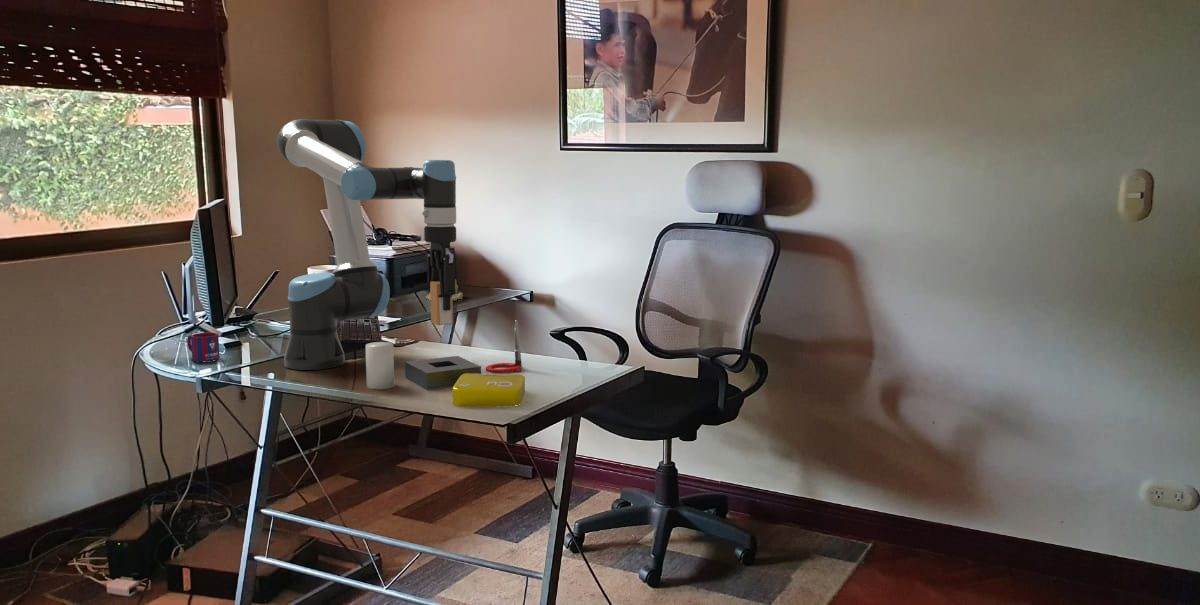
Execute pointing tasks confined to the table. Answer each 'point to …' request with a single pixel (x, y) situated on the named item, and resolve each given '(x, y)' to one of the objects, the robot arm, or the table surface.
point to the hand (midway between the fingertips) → (441, 321)
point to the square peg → (437, 303)
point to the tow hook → (513, 366)
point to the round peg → (380, 365)
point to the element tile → (489, 390)
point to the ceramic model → (454, 297)
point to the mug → (204, 346)
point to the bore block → (439, 371)
